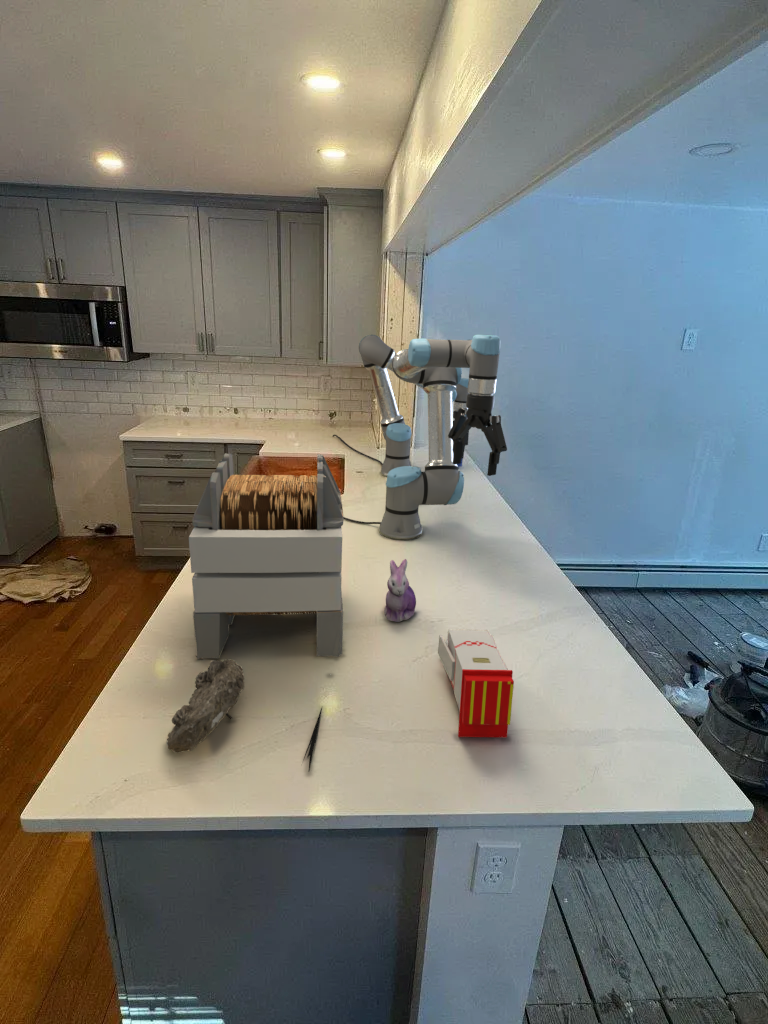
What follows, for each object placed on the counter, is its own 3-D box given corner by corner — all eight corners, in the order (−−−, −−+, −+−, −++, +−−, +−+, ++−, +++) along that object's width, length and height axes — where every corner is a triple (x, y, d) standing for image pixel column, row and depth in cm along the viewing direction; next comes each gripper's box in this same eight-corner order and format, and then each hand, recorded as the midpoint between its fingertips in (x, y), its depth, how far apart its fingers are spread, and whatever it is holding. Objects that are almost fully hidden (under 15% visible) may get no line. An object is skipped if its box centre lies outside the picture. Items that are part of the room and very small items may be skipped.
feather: (331, 679, 122) (336, 673, 122) (307, 777, 96) (313, 769, 95) (324, 675, 122) (329, 669, 121) (298, 772, 95) (304, 764, 95)
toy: (488, 613, 130) (523, 677, 101) (484, 667, 133) (517, 744, 104) (435, 612, 130) (455, 676, 101) (432, 666, 133) (451, 743, 103)
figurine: (392, 627, 141) (395, 572, 136) (374, 608, 149) (376, 556, 144) (425, 619, 145) (429, 566, 140) (405, 601, 154) (408, 550, 149)
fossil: (192, 660, 117) (244, 628, 112) (224, 691, 120) (276, 661, 115) (142, 746, 98) (202, 712, 93) (182, 779, 101) (242, 748, 96)
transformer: (219, 588, 156) (210, 443, 142) (338, 587, 160) (340, 446, 146) (193, 661, 124) (179, 483, 110) (343, 657, 128) (346, 485, 114)
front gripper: (526, 400, 148) (516, 478, 155) (458, 387, 166) (452, 457, 173) (507, 401, 143) (498, 482, 151) (439, 388, 162) (434, 460, 169)
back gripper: (478, 413, 271) (474, 460, 279) (456, 407, 286) (452, 451, 294) (465, 414, 268) (461, 461, 275) (444, 407, 283) (440, 452, 291)
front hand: (473, 469), depth 162 cm, fingers open, 13 cm apart
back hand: (457, 456), depth 285 cm, fingers closed on can, 6 cm apart
